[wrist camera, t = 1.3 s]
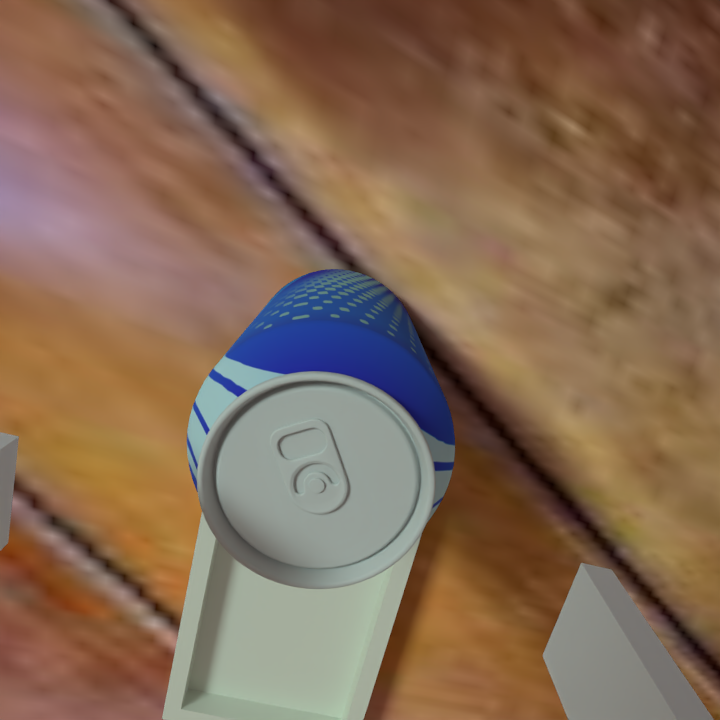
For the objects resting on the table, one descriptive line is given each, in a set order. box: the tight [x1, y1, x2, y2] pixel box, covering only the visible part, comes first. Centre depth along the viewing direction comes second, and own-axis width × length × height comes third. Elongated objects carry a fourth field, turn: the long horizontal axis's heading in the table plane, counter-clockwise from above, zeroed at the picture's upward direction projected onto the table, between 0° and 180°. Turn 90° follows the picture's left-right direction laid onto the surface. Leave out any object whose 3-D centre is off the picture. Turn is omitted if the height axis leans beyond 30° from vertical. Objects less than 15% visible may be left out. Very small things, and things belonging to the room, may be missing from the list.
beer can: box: [187, 269, 455, 589], centre depth 23 cm, size 8×8×16 cm
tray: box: [162, 512, 422, 720], centre depth 34 cm, size 18×12×2 cm, turn 166°
